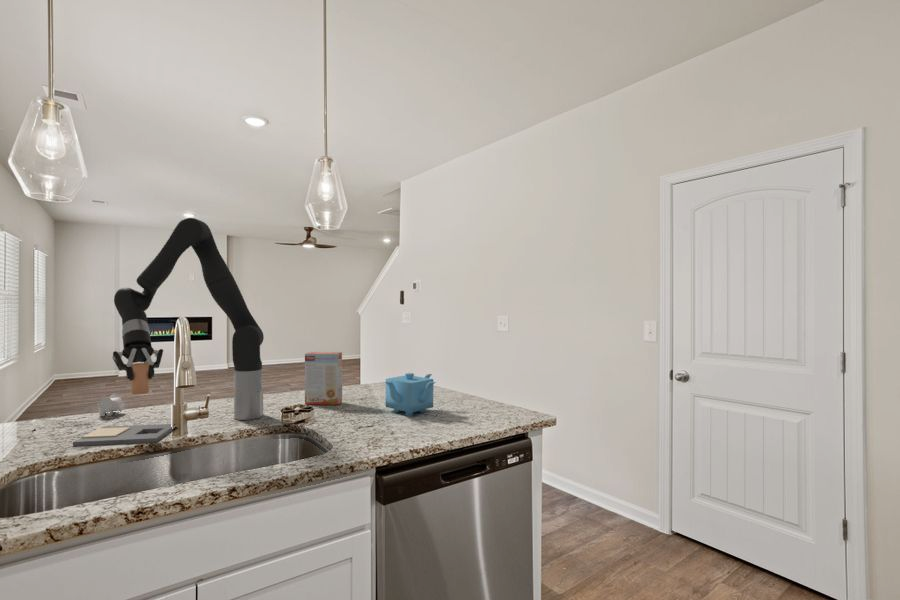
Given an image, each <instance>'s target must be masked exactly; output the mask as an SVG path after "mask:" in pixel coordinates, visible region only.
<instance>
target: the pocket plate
mask: <svg viewBox="0 0 900 600" xmlns="http://www.w3.org/2000/svg"><path fill="white" fill-rule="evenodd" d="M171 424H172V423H163V424H160V423H159V424H141V425H140V424H139V425H138V424H137V425H135V424H134V425H115V426H114V425H111V426H109V425H108V426H102V427H100V428H97V429H95V430H93V431H91V432H89V433H87V434H85V435H82V436H81V437H80V438H78V439H75V440H74V441H72V447H79V446H81V447H82V446H83V447H84V446H102V445H105V444H106V445H125V444H124V443H128V444H144V443H145V444H146V443H148V442H149V443H156V442H159V440H161V439H163V438H164V437H165V436H167V435H169V434H170V433H171V432H172V431H171V430H172V427H171Z"/></svg>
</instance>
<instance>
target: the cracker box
mask: <svg viewBox="0 0 900 600" xmlns="http://www.w3.org/2000/svg"><path fill="white" fill-rule="evenodd" d="M342 402H343V351H342V352H340V351H339V352H337V351H336V352H333V351H330V352H329V351H310V352H306V353H304V404H305V405H326V406H328V405H329V406H338V405H340V404H341V403H342Z"/></svg>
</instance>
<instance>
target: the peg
mask: <svg viewBox="0 0 900 600" xmlns="http://www.w3.org/2000/svg"><path fill="white" fill-rule="evenodd" d="M132 372H133V380H132V381H131V394H132V395H143V394H144V395H145V394H149V391H150V390H149V389H150V379H149V363H144V362H136V363H133V364H132Z"/></svg>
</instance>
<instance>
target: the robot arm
mask: <svg viewBox="0 0 900 600" xmlns="http://www.w3.org/2000/svg"><path fill="white" fill-rule="evenodd" d="M190 247H192V249H193V251H194V253H195V254H196V256H197V258H198V260H199V262H200V266H201V272H202V277H203V280H204V283H205V285H206V287H207V289H208V292H209V293H210V295H211V297H212V299H213V300H214V301H215V303H216V304H217V305H218V306H219V308H220V309H221V310H222V311H223V312H224V314H226V316H227V318H229V321H230V322H231V324H232V326H233V330H234V333H233V334H232V340H231V342H232V343H231V347H232V348H231V350H232V364H233V366H234V367H233V368H234V369H233V370H234V372H233V376H234V377H233V379H234V380H233V384H234V385H233V386H234V387H233V388H234V389H233V394H234V397H233V410H234V411H233V417H234V419H235V420H236V421H237V420H239V421H249V420H255V419H261V417H262V416H263V415H264V389H263V361H262V359H261V345H263V342H264V339H265V338H264V337H265V336H264V332H263V330H262V329H261V327H260V325H258V323H257V321H256V320H255V317H253V315H252V313H251V312H250V310H249V308H248V306H247V304H246V301H245V299H244V296H243V294H242V292H241V289H240V287H239V285H238V284H237V282H236V280H235V277H234V276H233V274H232V272H231V271H230V269H229V267H228V265H227V263H226V262H225V260H224V258H223V256H222V255H221V253H220V251H219V249H218V246H217V244H216V241H215V239H214V235H213V234H212V230H211V228H210V226H209V225H208V224H207V223H205V222H204V221H203V220H200V219H197V218H194V217H186V218H183V219H181V220H180V221H179V222H178V223H177V224H176V226H175V228H174V229H173V231H172V232H171V234H170V235H169V238H168V239H167V240H166V242H165V244H164V245H163V247H162V248H161V249H160V251H159V252H158V253H157V255H156V256H155V257H154V258H153V259H152V261H151V262H149V264H148V265H147V266H146V268H144V270H143V271H142V272H141V273H140V274H139V275H138V276H137V278H136V283H137V285H139V286H140V287H141V288H142V289H143V290H142V292H140V291H138V290H135V289H133V288H130V287H121V288H119V289H117V291H116V292H115V294H114V297H113V303H114V306H115V309H116V310H117V312H118V314H119V316H120V319H121V324H122V329H121V330H122V331H121V334H122V335H121V337H122V345H123V349H122V351H119V352H118V351H116V350H115V351H113V352H112V360H113V362H114V364H115V365H116V367H117V369H118V370H119V371H125V373H126V374H125V376H126V379H127V380H129V381H131V382H132V380H133V372H132V364H137V363H149V380H152V379H153V378H154V376H155V368H156V369H159V367H160V365H161V361H162V357H163V355H164V350H163V349H162V348H159V350H158V349H154V348H153V347H152V340H151V339H152V338H151V332H150V331H151V330H150V328H149V324H148V317H147V313H146V312H145V311H147V310H148V309H149V308H150V306H151V303H152V301H153V300H154V296H155V295H156V293H157V290H158V289H159V288H160V287H161V286H162V284H163V283H164V282H166V280H167V279H168V278H169V276H170V275H171V273H172V272H173V270H174V269H175V266H176V264H177V262H178V261H179V259H180V257H181V256H182V255H183V254H184V253H185V252H186V251H187V250H188V249H189V248H190ZM153 355H154V357H155V358H156V360H155V361H153V360H152V356H153ZM122 357H124V358H125V359H127V363H124V361H123V360H122Z"/></svg>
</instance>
